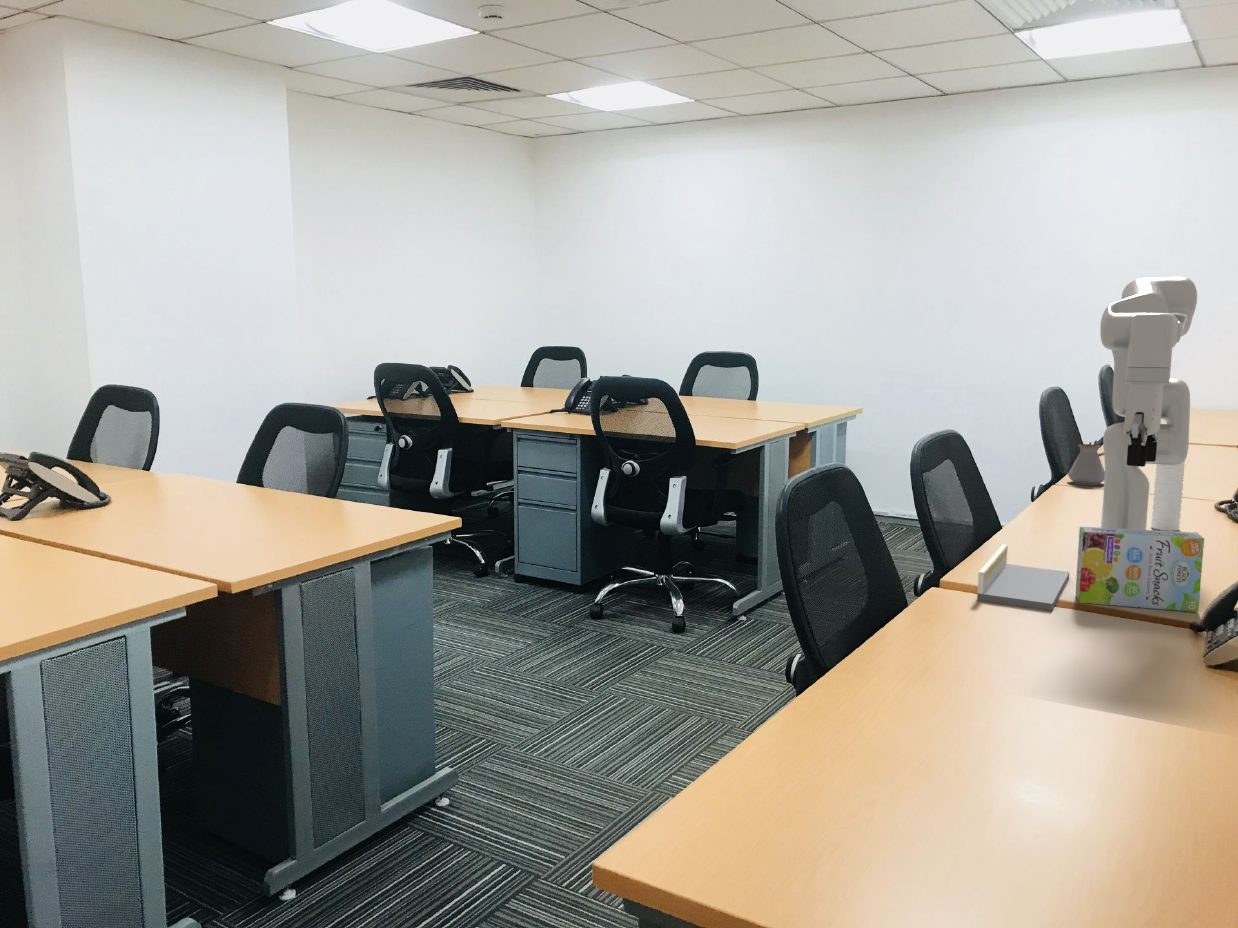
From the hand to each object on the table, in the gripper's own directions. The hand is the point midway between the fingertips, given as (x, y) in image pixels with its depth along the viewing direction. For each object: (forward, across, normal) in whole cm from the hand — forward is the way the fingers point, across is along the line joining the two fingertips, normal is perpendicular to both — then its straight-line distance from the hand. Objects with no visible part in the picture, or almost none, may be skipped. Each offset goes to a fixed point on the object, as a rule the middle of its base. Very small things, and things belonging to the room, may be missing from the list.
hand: (1141, 463), depth 187 cm
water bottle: (+26, -75, -7) cm, 80 cm away
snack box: (+28, +1, +1) cm, 29 cm away
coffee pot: (+23, -132, -35) cm, 138 cm away
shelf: (+28, +4, -19) cm, 34 cm away
